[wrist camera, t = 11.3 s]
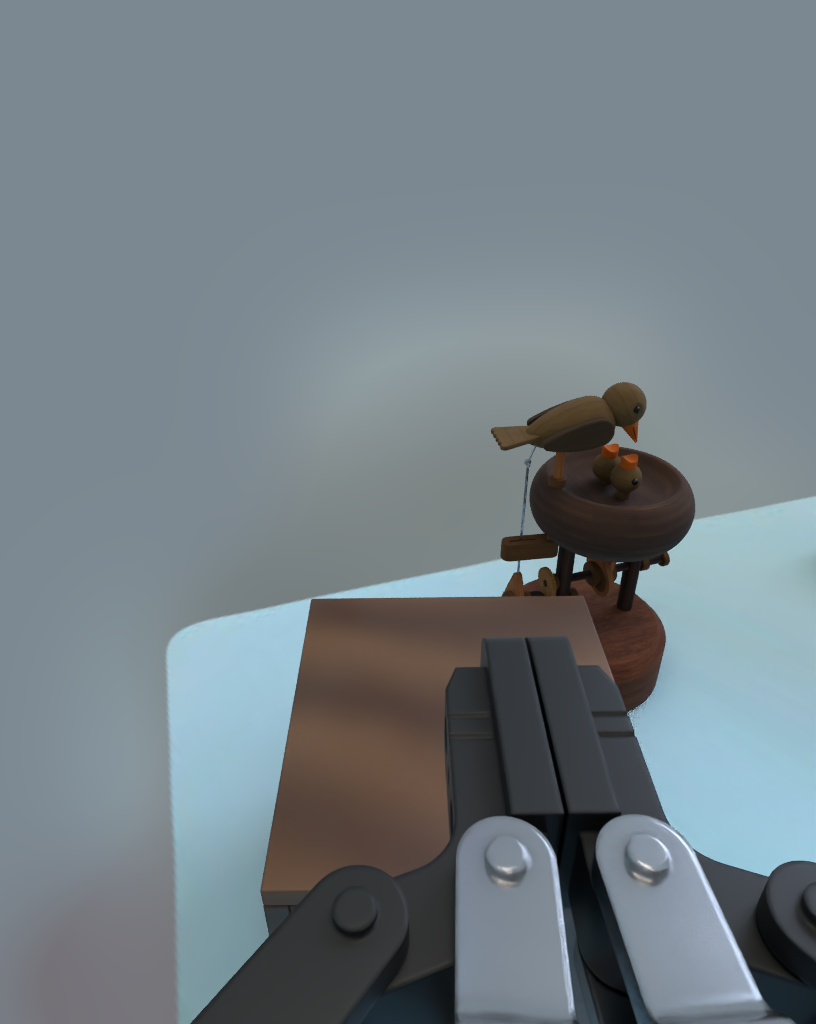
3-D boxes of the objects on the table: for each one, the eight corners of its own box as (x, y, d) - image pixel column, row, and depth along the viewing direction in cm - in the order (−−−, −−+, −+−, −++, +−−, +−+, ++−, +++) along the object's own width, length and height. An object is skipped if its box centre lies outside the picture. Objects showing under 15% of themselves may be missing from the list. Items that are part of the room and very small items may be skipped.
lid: (312, 611, 34) (311, 598, 34) (581, 608, 34) (583, 594, 34) (262, 906, 22) (259, 891, 21) (685, 900, 22) (690, 885, 21)
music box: (545, 758, 40) (563, 429, 31) (450, 653, 49) (443, 373, 40) (735, 671, 46) (796, 372, 37) (619, 591, 55) (646, 335, 46)
